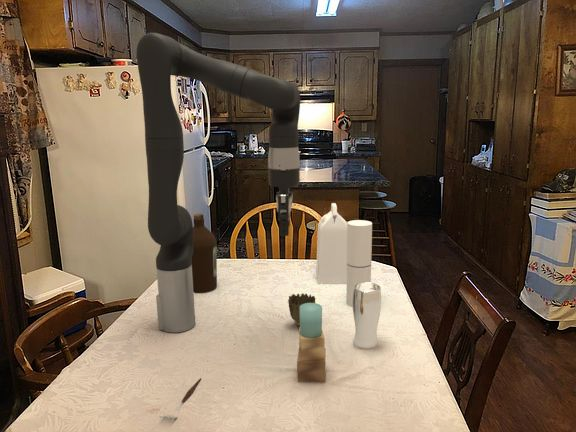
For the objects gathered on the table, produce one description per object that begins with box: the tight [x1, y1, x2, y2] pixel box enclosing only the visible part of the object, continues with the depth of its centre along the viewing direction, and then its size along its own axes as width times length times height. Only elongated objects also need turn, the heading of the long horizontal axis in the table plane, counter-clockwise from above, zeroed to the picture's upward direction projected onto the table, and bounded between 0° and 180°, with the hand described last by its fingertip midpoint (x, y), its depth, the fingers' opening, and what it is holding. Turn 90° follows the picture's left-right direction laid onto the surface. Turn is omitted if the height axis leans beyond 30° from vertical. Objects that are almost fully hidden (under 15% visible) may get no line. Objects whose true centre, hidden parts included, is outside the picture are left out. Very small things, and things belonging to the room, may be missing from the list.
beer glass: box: [352, 282, 382, 350], centre depth 116 cm, size 7×7×15 cm
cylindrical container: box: [345, 219, 373, 308], centre depth 139 cm, size 7×7×25 cm
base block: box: [296, 347, 327, 383], centre depth 104 cm, size 6×6×5 cm
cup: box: [287, 293, 316, 328], centre depth 127 cm, size 8×7×8 cm
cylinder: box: [299, 302, 323, 338], centre depth 102 cm, size 5×5×6 cm
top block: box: [298, 327, 326, 360], centre depth 103 cm, size 5×5×5 cm
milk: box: [315, 202, 348, 285], centre depth 161 cm, size 12×12×26 cm
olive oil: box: [192, 213, 218, 294], centre depth 154 cm, size 11×11×25 cm
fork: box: [159, 377, 202, 420], centre depth 96 cm, size 3×16×2 cm, turn 166°
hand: (284, 230), depth 117 cm, fingers open, 8 cm apart
